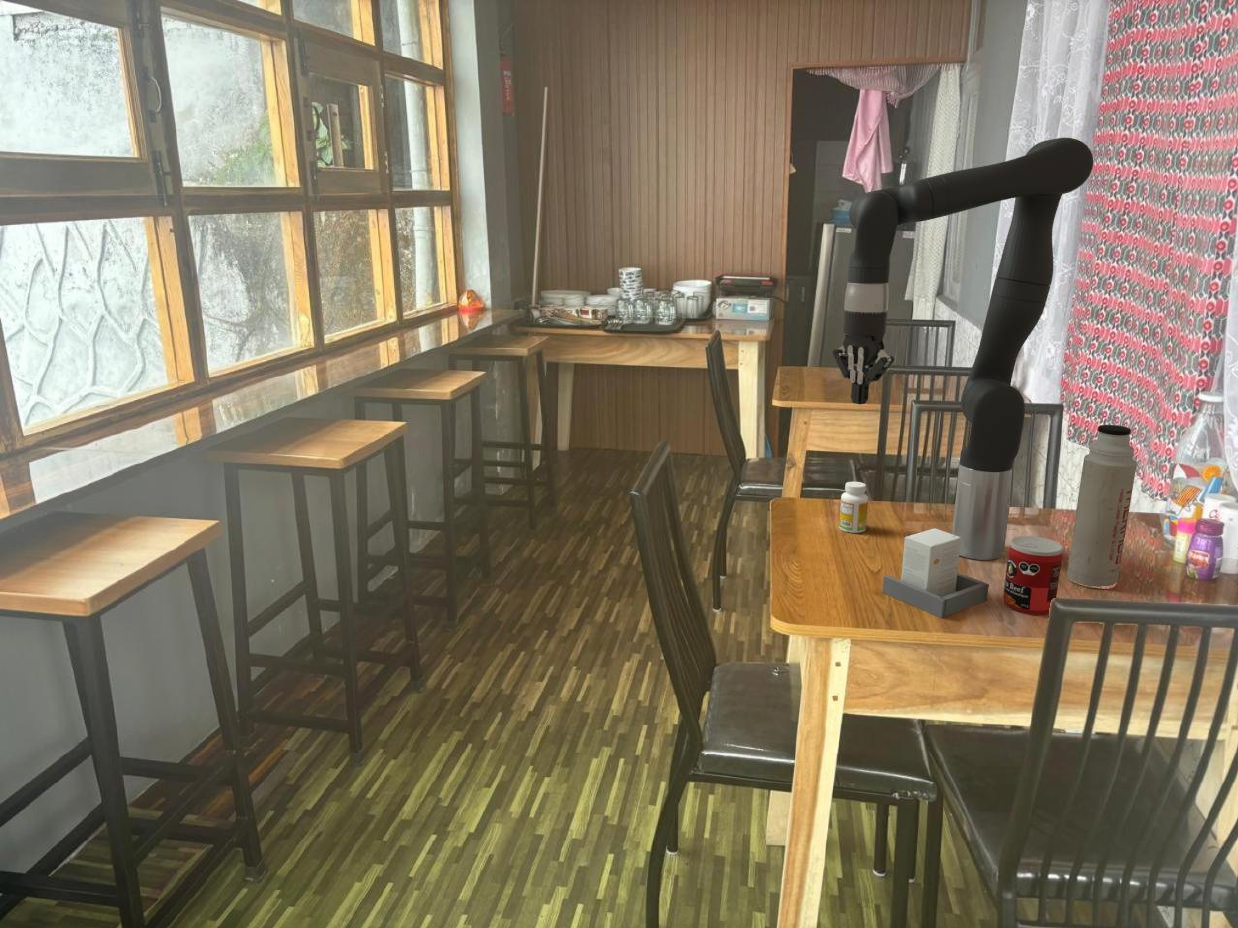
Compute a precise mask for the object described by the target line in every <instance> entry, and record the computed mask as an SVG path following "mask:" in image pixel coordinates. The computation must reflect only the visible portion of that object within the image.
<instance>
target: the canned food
mask: <svg viewBox="0 0 1238 928" xmlns="http://www.w3.org/2000/svg"><path fill="white" fill-rule="evenodd" d="M1063 556H1064V546H1063V545H1062V544H1061V543H1059V542H1058V541H1055V540H1053V539H1049V538H1045V537H1042V536H1035V535H1022V536H1015V537H1013V538H1011V539H1010V541H1009V547H1008V553H1007V563H1006V570H1005V579H1004V586H1003V594H1002V598H1003V603H1004V604H1005V606H1006V607H1007V608H1009V609H1010V608H1011V610H1012V611H1015V612H1018V613H1022V614H1026V615H1031V616H1035V615H1036V616H1040V615H1041V616H1042V615H1047V614H1050V613H1049V608H1050V603H1051V600H1052V599H1053V598H1056V599H1057V596H1058V589H1059V583H1060V581H1059V580H1060V575H1061V568H1062V561H1063Z"/></svg>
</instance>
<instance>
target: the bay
mask: <svg viewBox="0 0 1238 928" xmlns="http://www.w3.org/2000/svg"><path fill="white" fill-rule="evenodd" d="M989 586H990V584H989V583H986V582H984V581H982V580H979V579H975V578H973V577H971V576H968V575H965V574H963V573H960V572H957V582H956V590H955V593H952V594H949V595H946V596H944V597H940V596H938V595H935V594H933V593H930V592H928V591H925V590H923V589H921V588H918V587H916V586H913V585H911V584H908V583H906V582H904V581H901V579H899V578H896V577H895V576H894V577H893V576H891V575H889V574H886V575H884V576H883V580H882V590H881V593H883V594H885V595H888V596H890V597H892V598H894V599H896V600H899V601H901V602H904V603H905V604H908V605H910V606H913V607H915V608H917V609H919V610H922V611H924V612H927V613H929V614H931V615H933V616H936V617H937V618H938V617H939V618H941V619H942V618H944V617H947V616H949V615H953V614H955V613H958V612H960V611H963V610H966V609H968V608H971V607H973V606H976V605H980V604H982V603H985V602H987V601H988V595H989Z"/></svg>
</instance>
